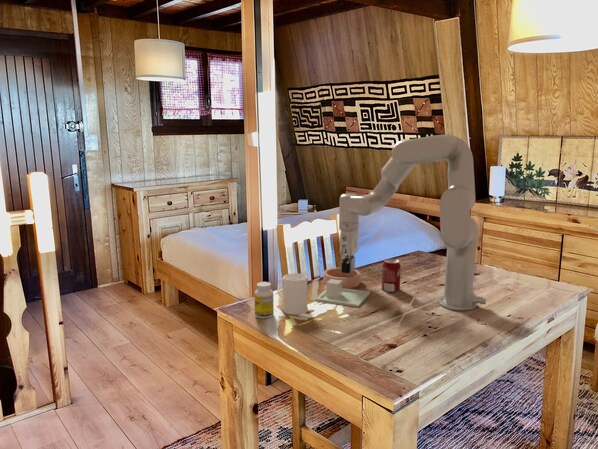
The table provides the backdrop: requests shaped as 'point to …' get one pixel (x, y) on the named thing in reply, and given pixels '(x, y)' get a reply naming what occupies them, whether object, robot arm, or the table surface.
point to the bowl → (342, 277)
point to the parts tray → (346, 297)
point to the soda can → (391, 275)
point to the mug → (294, 293)
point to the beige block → (334, 288)
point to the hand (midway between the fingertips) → (347, 270)
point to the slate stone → (352, 264)
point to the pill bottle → (264, 300)
